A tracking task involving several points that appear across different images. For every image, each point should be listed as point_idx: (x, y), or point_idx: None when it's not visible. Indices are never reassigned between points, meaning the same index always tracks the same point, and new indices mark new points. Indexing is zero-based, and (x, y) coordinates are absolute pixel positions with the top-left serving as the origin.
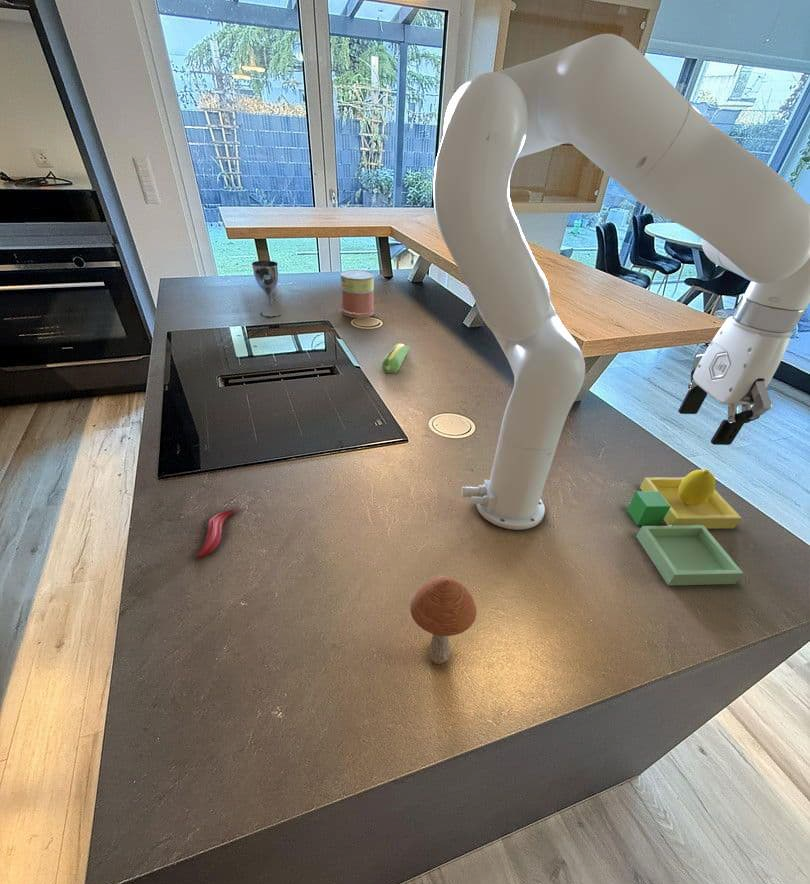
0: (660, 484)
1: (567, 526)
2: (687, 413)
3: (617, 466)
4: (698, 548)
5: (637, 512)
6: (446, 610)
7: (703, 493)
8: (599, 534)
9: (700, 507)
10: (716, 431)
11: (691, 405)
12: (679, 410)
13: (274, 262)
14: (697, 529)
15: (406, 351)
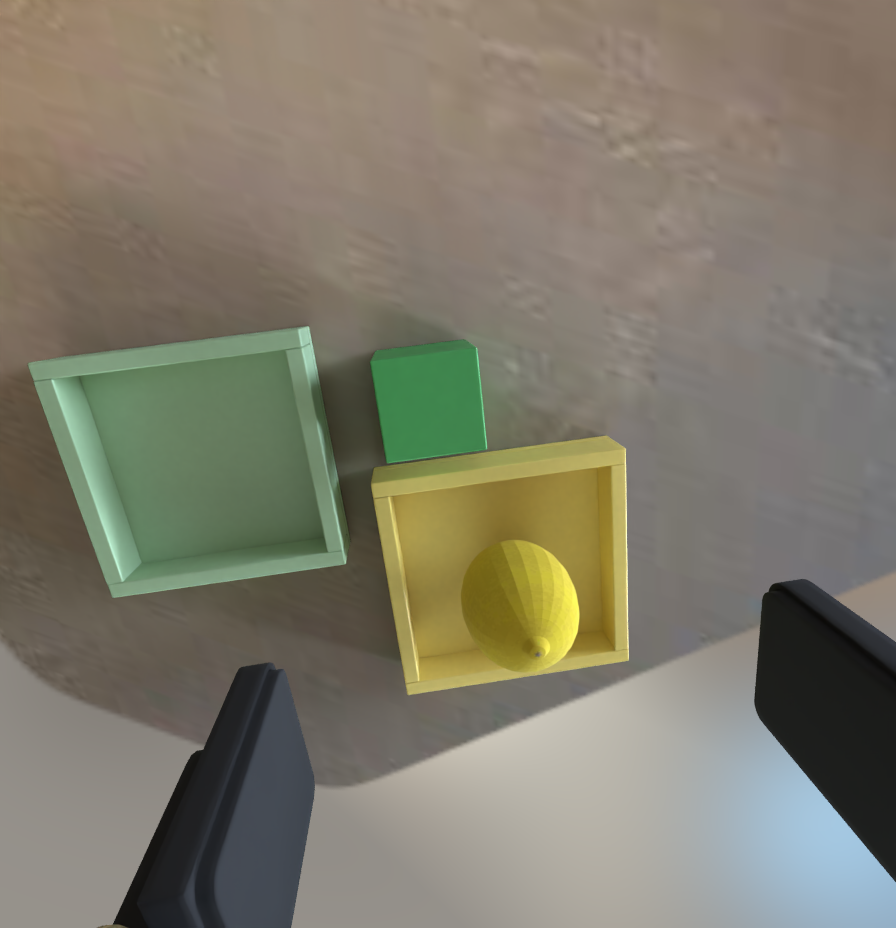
0: (603, 506)
1: (324, 28)
2: (760, 643)
3: (746, 391)
4: (269, 520)
5: (405, 350)
6: None
7: (464, 608)
8: (296, 173)
9: None
10: (248, 743)
11: (817, 698)
12: (800, 587)
13: None
14: (324, 537)
15: None
